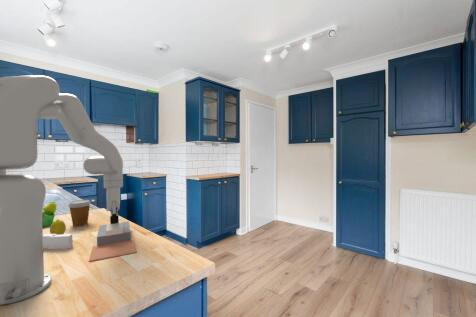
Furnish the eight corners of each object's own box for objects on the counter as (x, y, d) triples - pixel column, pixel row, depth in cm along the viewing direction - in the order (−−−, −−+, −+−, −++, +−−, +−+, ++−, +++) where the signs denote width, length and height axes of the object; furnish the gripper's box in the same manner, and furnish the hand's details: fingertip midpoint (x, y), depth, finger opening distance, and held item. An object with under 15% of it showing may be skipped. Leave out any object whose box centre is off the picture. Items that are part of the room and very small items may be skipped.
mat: (136, 252, 84) (136, 251, 84) (88, 262, 77) (88, 260, 77) (134, 240, 96) (134, 239, 96) (92, 247, 89) (92, 246, 89)
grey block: (130, 241, 95) (130, 231, 95) (97, 247, 90) (96, 237, 90) (129, 229, 109) (128, 221, 109) (100, 234, 104) (99, 225, 104)
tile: (123, 233, 93) (122, 228, 93) (106, 236, 91) (106, 231, 90) (122, 226, 101) (122, 222, 101) (107, 229, 98) (106, 224, 98)
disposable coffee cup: (88, 226, 115) (88, 202, 115) (66, 228, 111) (65, 204, 111) (93, 220, 124) (92, 199, 123) (72, 222, 120) (71, 200, 120)
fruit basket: (34, 223, 120) (33, 202, 120) (55, 219, 126) (55, 199, 126) (35, 228, 112) (35, 206, 111) (58, 224, 118) (57, 203, 118)
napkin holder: (81, 246, 91) (80, 232, 91) (45, 258, 81) (45, 242, 81) (65, 239, 99) (64, 226, 99) (31, 248, 90) (30, 234, 89)
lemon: (57, 240, 97) (56, 221, 96) (46, 239, 98) (46, 221, 97) (69, 235, 102) (68, 218, 102) (59, 234, 103) (58, 217, 103)
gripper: (104, 182, 105) (105, 221, 106) (102, 186, 92) (104, 231, 93) (122, 181, 109) (123, 219, 109) (123, 185, 96) (124, 228, 96)
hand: (114, 224), depth 101 cm, fingers closed
